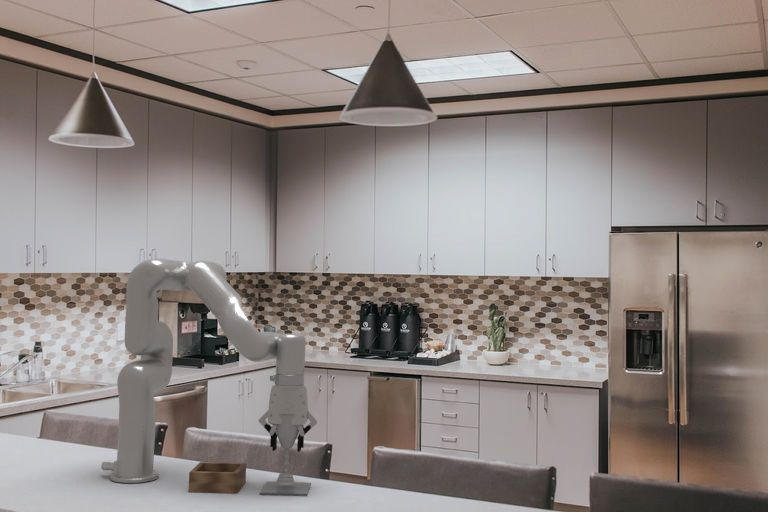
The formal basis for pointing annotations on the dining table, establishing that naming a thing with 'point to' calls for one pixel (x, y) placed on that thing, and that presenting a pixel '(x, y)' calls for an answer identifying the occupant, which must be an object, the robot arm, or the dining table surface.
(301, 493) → the coaster
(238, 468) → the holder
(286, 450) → the chalice
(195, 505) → the dining table surface
